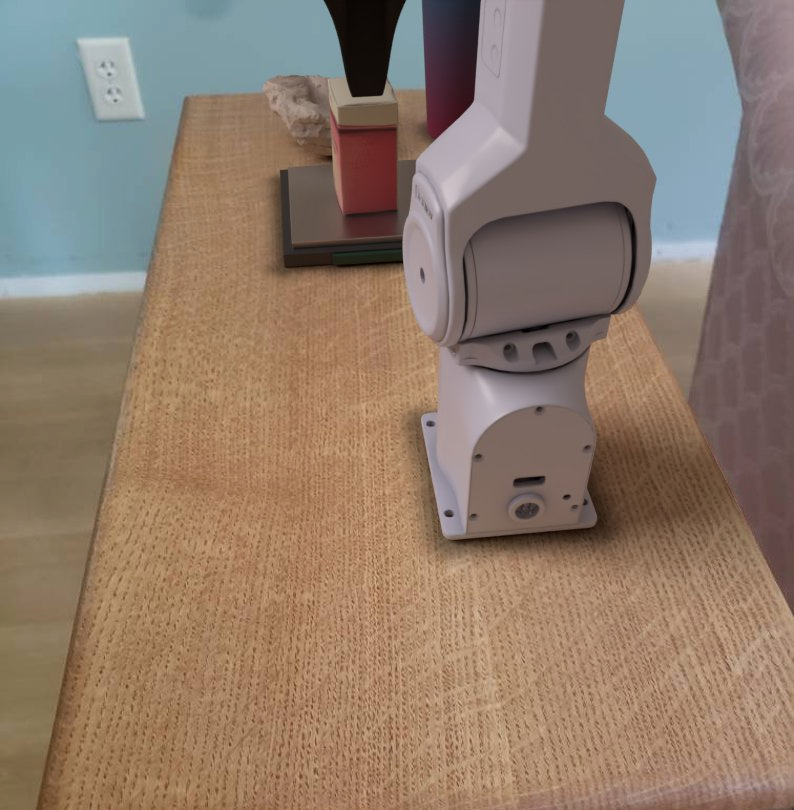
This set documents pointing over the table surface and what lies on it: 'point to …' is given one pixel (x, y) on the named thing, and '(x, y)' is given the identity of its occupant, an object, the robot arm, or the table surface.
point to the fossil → (303, 109)
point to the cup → (449, 59)
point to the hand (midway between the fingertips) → (362, 71)
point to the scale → (338, 220)
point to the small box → (364, 148)
